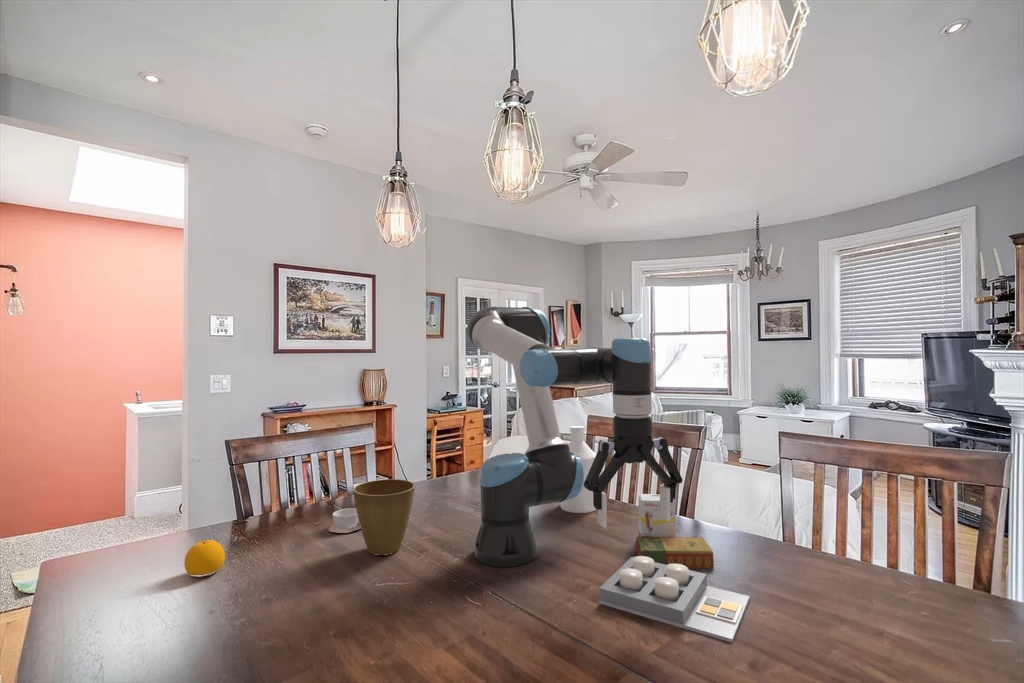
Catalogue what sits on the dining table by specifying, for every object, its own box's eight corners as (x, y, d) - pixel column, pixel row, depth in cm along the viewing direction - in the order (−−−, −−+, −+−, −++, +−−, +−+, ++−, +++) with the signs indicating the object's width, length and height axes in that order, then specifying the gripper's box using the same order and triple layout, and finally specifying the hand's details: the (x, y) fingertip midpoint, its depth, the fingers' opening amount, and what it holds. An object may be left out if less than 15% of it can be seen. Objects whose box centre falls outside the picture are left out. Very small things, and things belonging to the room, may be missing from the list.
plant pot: (370, 568, 114) (369, 498, 115) (344, 549, 126) (343, 486, 126) (427, 550, 124) (425, 486, 124) (397, 534, 135) (396, 475, 136)
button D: (662, 582, 100) (662, 569, 100) (669, 574, 103) (669, 561, 103) (685, 588, 97) (685, 575, 97) (691, 579, 101) (691, 566, 101)
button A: (616, 588, 98) (615, 574, 98) (624, 579, 102) (624, 566, 102) (637, 594, 95) (637, 580, 96) (645, 584, 99) (645, 571, 99)
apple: (230, 573, 114) (229, 540, 114) (190, 585, 108) (189, 550, 108) (218, 563, 119) (218, 531, 119) (180, 574, 113) (179, 541, 113)
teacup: (372, 526, 143) (372, 509, 143) (344, 538, 134) (344, 520, 134) (348, 520, 148) (348, 504, 148) (320, 531, 139) (319, 514, 139)
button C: (651, 597, 94) (650, 583, 94) (658, 588, 98) (658, 574, 98) (674, 604, 92) (674, 589, 92) (681, 594, 95) (681, 580, 95)
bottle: (556, 502, 161) (554, 424, 161) (592, 500, 162) (590, 423, 162) (564, 514, 149) (562, 430, 149) (602, 512, 150) (601, 429, 151)
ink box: (641, 547, 123) (640, 499, 124) (638, 539, 128) (637, 493, 128) (677, 548, 122) (675, 500, 123) (673, 540, 127) (671, 494, 127)
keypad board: (599, 603, 97) (599, 588, 97) (631, 570, 111) (631, 556, 111) (732, 642, 83) (731, 624, 83) (749, 599, 97) (749, 583, 97)
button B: (629, 574, 104) (629, 561, 104) (637, 566, 107) (636, 554, 107) (650, 579, 101) (649, 566, 101) (657, 571, 105) (656, 559, 105)
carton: (714, 570, 111) (713, 551, 111) (640, 568, 113) (640, 549, 113) (704, 554, 119) (703, 536, 120) (635, 552, 121) (635, 535, 121)
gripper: (579, 421, 93) (581, 535, 93) (699, 414, 98) (701, 522, 98) (566, 415, 100) (568, 521, 100) (678, 410, 106) (680, 510, 106)
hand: (634, 522), depth 99 cm, fingers open, 13 cm apart
